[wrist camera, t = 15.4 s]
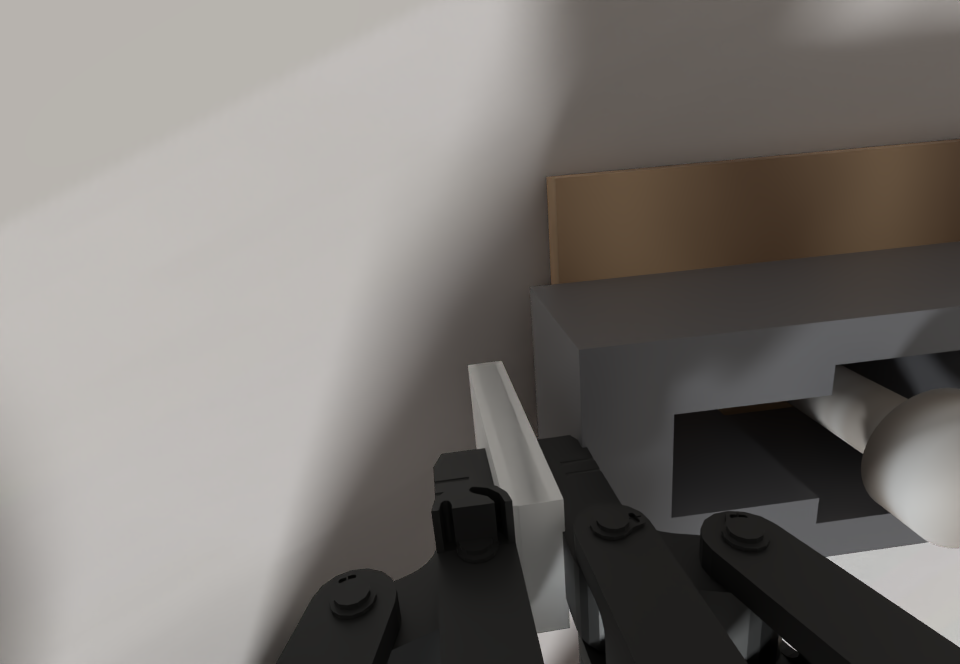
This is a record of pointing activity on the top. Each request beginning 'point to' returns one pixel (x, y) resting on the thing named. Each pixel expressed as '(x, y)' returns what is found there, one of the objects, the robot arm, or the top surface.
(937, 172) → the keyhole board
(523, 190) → the top surface
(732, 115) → the top surface
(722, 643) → the robot arm
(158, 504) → the top surface
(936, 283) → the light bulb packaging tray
